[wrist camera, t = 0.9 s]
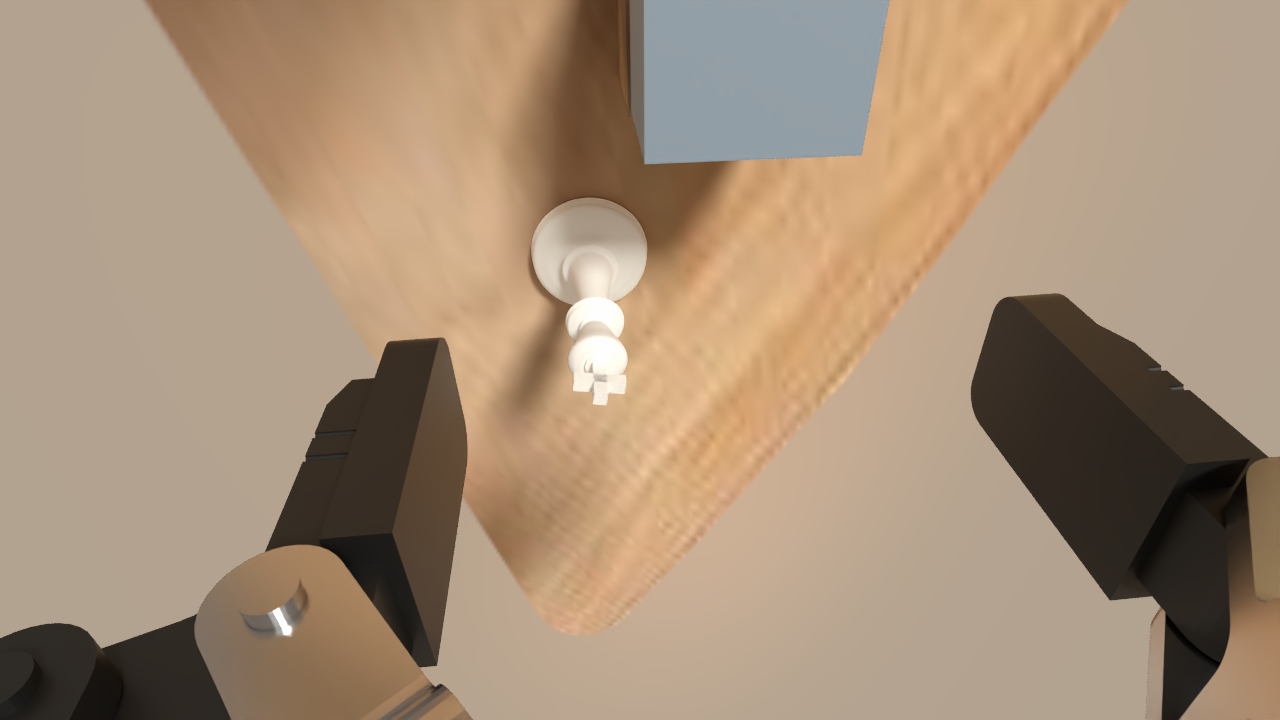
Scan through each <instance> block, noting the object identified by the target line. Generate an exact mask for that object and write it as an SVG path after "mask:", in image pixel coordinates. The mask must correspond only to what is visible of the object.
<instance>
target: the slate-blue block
mask: <svg viewBox="0 0 1280 720" xmlns="http://www.w3.org/2000/svg"><path fill="white" fill-rule="evenodd" d="M888 6H889V0H630V68H631V114H632V118H633V122H634V125H635V129H636V133H637V137H638V141H639V145H640V149H641V152H642V156H643V160H644V164H663V163H688V162H712V161H737V160H762V159H786V158H811V157H835V156H860V155H862V151H863V145H864V140H865V134H866V128H867V123H868V117H869V112H870V106H871V101H872V95H873V89H874V84H875V78H876V73H877V67H878V61H879V56H880V50H881V45H882V39H883V33H884V28H885V22H886V17H887V11H888Z"/></svg>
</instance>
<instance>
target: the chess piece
mask: <svg viewBox="0 0 1280 720" xmlns="http://www.w3.org/2000/svg"><path fill="white" fill-rule="evenodd" d="M531 256H532V261H533V265H534V269H535V272H536V275H537V277H538V279H539V281H540V282H541V284H542V285H543V286H544V287H545V289H546V290H547V291H548V292H549V293H551V294H552V295H553V296H555V297H556V298H558V299H559V300H561V301H563V302H566V303H568V304H571V305H573V306H572V307H571V308H570V309H569V311H568V313H567V315H566V320H565V324H566V329H567V331H568V333H569V335H570V336H571V338H572V339H573V340H574V341H575V342H574V344H573V345H572V347H571V349H570V352H569V355H568V366H569V369H570V371H571V372H572V374H573V391H583V392H592V398H593V404H594V405H607V399H608V393H616V394H625V389H626V376H625V375H621V374H622V373H623V372H624V370H625V368H626V366H627V353H626V350H625V348H624V346H623V345H622V343H621V342H620V341H619V339H618V337H619V336H620V334H621V332H622V329H623V327H624V316H623V313H622V311H621V309H620V308H619V306H618V305H617V304H615V303H614V302H615V301H618V300H619V299H621V298H623V297H624V296H626V295H627V294H628V293H629V292H631V291H632V290H633V289H634V287H635V286H636V285H637V284H638V282H639V281H640V279H641V277H642V275H643V273H644V270H645V266H646V260H647V241H646V237H645V233H644V231H643V229H642V227H641V225H640V223H639V222H638V220H637V219H636V218H635V217H634V216H633V215H632V214H631V213H630V212H629V211H628V210H626V209H625V208H624V207H622V206H620V205H618V204H616V203H614V202H612V201H609V200H605V199H600V198H579V199H574V200H570V201H567V202H565V203H563V204H561V205H559V206H557V207H555V208H554V209H553V210H551V211H550V212H549V213H548V214H547V215H546V216H545V217H544V218H543V219H542V220H541V222H540V223H539V225H538V226H537V228H536V230H535V233H534V235H533V239H532V244H531Z"/></svg>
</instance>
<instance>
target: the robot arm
mask: <svg viewBox="0 0 1280 720" xmlns="http://www.w3.org/2000/svg"><path fill="white" fill-rule="evenodd" d="M971 401H972V407H973V411H974V414H975V416H976V418H977V420H978V422H979V424H980V425H981V427H982V428H983V429H984V431H985V432H986V433H987V435H988V436H989V437H990V439H991V440H992V441H993V443H994V444H995V445H996V447H997V448H998V450H999V451H1000V452H1001V454H1002V455H1003V456H1004V458H1005V459H1006V460H1007V462H1008V463H1009V465H1010V466H1011V467H1012V468H1013V470H1014V471H1015V473H1016V474H1017V475H1018V477H1019V478H1020V479H1021V481H1022V482H1023V483H1024V485H1025V486H1026V487H1027V489H1028V490H1029V491H1030V493H1031V494H1032V496H1033V497H1034V498H1035V500H1036V501H1037V502H1038V504H1039V505H1040V506H1041V508H1042V509H1043V510H1044V512H1045V513H1046V515H1047V516H1048V517H1049V519H1050V520H1051V521H1052V523H1053V524H1054V525H1055V527H1056V528H1057V529H1058V530H1059V532H1060V534H1061V535H1062V536H1063V537H1064V539H1065V540H1066V541H1067V543H1068V544H1069V546H1070V547H1071V548H1072V549H1073V551H1074V552H1075V554H1076V555H1077V557H1078V558H1079V559H1080V561H1081V562H1082V563H1083V565H1084V566H1085V567H1086V569H1087V570H1088V571H1089V573H1090V574H1091V575H1092V577H1093V578H1094V579H1095V581H1096V582H1097V583H1098V585H1099V586H1100V588H1101V589H1102V590H1103V592H1104V593H1105V594H1106V596H1107V597H1108V598H1109V600H1118V599H1129V598H1139V597H1148V596H1153V598H1154V599H1155V600H1156V601H1157V603H1158V604H1159V605H1160V606H1161V607H1160V608H1159V610H1158V612H1157V613H1156V615H1155V617H1154V618H1153V620H1152V622H1151V627H1150V643H1149V661H1148V679H1147V697H1146V716H1145V720H1280V457H1268V456H1267V455H1265V454H1264V453H1263V452H1262V451H1261V450H1260V449H1258V448H1257V447H1256V446H1255V445H1254V444H1252V443H1251V442H1250V441H1249V440H1247V438H1245V437H1244V436H1243V435H1242V434H1241V433H1240V432H1238V431H1237V430H1236V429H1235V428H1234V427H1233V426H1231V425H1230V424H1229V423H1228V422H1227V421H1225V420H1224V419H1223V418H1222V417H1221V416H1220V415H1218V414H1217V413H1216V412H1215V411H1214V410H1213V409H1211V408H1210V407H1209V406H1208V405H1207V404H1205V403H1204V402H1203V401H1202V400H1201V399H1200V398H1198V397H1197V396H1196V395H1195V394H1194V393H1192V392H1191V391H1190V390H1184V388H1183V384H1182V383H1181V382H1179V381H1178V380H1177V379H1176V378H1175V377H1174V376H1172V375H1171V374H1170V373H1169V372H1168V371H1161V365H1160V364H1158V363H1157V362H1156V361H1155V360H1154V359H1152V358H1151V357H1150V356H1149V355H1148V354H1147V353H1145V352H1144V351H1143V350H1142V349H1141V348H1139V347H1138V346H1137V345H1136V344H1135V343H1133V342H1131V341H1129V340H1127V339H1125V338H1123V337H1121V336H1120V335H1117V334H1116V333H1113V332H1112V331H1110V330H1107V329H1106V328H1103V327H1102V326H1100V325H1098V324H1096V323H1095V322H1094V321H1093V320H1092V319H1091V318H1090V317H1088V316H1087V315H1086V314H1085V313H1084V312H1083V311H1082V310H1080V309H1079V308H1078V307H1077V306H1076V305H1075V304H1074V303H1072V302H1071V301H1070V300H1069V299H1068V298H1066V297H1065V296H1064V295H1061V294H1056V293H1055V294H1042V295H1028V296H1014V297H1006V298H1003V299H1002V300H1000V301H999V302H998V304H997V305H996V307H995V309H994V311H993V314H992V317H991V321H990V324H989V327H988V331H987V334H986V337H985V340H984V344H983V347H982V350H981V354H980V357H979V360H978V364H977V367H976V370H975V374H974V377H973V380H972V385H971ZM315 435H316V436H315V438H313V439H312V441H311V444H310V446H309V448H308V451H307V453H306V456H305V457H306V462H303V463H302V465H301V468H300V470H299V472H298V475H297V477H296V479H295V482H294V484H293V486H292V489H291V491H290V494H289V496H288V499H287V501H286V503H285V506H284V508H283V510H282V513H281V515H280V517H279V520H278V522H277V525H276V527H275V529H274V532H273V534H272V537H271V539H270V541H269V544H268V546H267V549H266V551H265V552H264V553H261V554H259V555H257V556H255V557H253V558H251V559H249V560H247V561H245V562H244V563H242V564H241V565H239V566H237V567H236V568H235V569H233V570H232V571H231V572H229V573H228V574H227V575H226V576H224V577H223V578H222V580H220V581H219V582H218V583H217V584H216V585H215V586H214V588H213V589H212V590H211V591H210V593H209V594H208V595H207V597H206V598H205V600H204V601H203V603H202V604H201V607H200V609H199V612H198V614H196V615H194V616H192V617H189V618H187V619H184V620H182V621H180V622H176V623H174V624H171V625H168V626H165V627H162V628H159V629H156V630H154V631H151V632H148V633H145V634H142V635H139V636H137V637H134V638H131V639H128V640H125V641H122V642H119V643H116V644H114V645H111V646H108V647H105V648H102V649H101V648H100V647H99V646H98V644H97V643H96V642H95V640H94V639H93V638H92V637H91V636H90V634H89V633H88V632H87V631H85V630H84V629H82V628H80V627H77V626H74V625H71V624H61V623H54V624H44V625H39V626H34V627H30V628H27V629H23V630H20V631H17V632H14V633H12V634H10V635H7V636H5V637H2V638H0V720H473V719H472V718H471V716H470V715H469V714H468V712H467V711H466V710H465V708H464V707H463V706H462V704H461V703H460V702H459V701H458V699H457V698H456V697H455V696H454V695H453V693H452V692H450V690H449V689H447V688H446V687H445V686H444V685H442V684H440V685H438V686H436V687H435V686H434V685H432V683H431V682H430V681H429V680H428V679H427V677H426V676H425V675H424V673H423V672H422V671H421V669H420V668H419V667H428V666H437V662H438V655H439V648H440V642H441V635H442V628H443V622H444V615H445V608H446V601H447V595H448V588H449V581H450V574H451V568H452V561H453V554H454V548H455V540H456V534H457V527H458V521H459V514H460V507H461V500H462V494H463V487H464V480H465V474H466V467H467V433H466V426H465V420H464V415H463V411H462V406H461V402H460V397H459V393H458V388H457V384H456V379H455V375H454V370H453V366H452V361H451V357H450V352H449V348H448V345H447V343H446V341H445V339H444V338H428V339H415V340H401V341H390V342H388V343H387V345H386V347H385V350H384V352H383V355H382V358H381V361H380V364H379V367H378V370H377V373H376V375H375V378H371V379H358V380H352V381H351V382H350V383H348V384H347V385H346V386H345V388H343V389H342V390H341V391H340V392H339V393H338V394H337V395H336V396H335V397H334V398H333V399H332V400H331V401H330V402H329V403H328V404H327V405H326V408H325V410H324V412H323V415H322V417H321V420H320V422H319V424H318V427H317V429H316V432H315Z"/></svg>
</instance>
